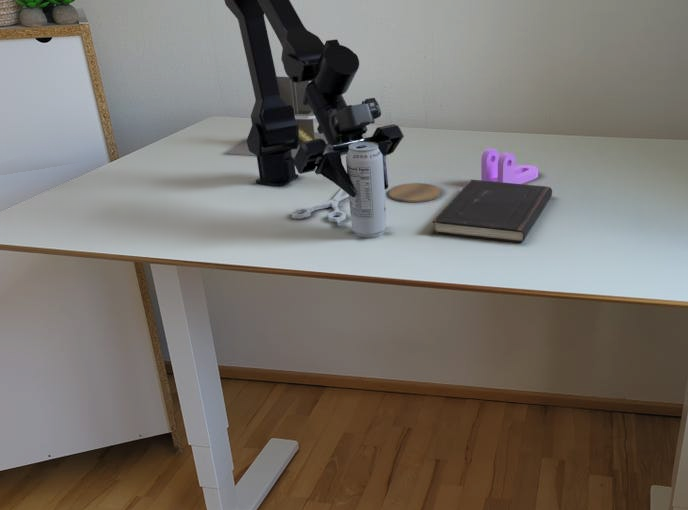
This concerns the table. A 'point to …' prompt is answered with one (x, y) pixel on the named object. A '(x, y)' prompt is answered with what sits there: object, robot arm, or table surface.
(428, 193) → the coaster
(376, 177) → the energy drink can
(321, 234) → the table surface
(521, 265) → the table surface
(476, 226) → the hardcover book
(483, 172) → the bracket
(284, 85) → the architectural model
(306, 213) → the scissors
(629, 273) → the table surface
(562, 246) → the table surface
